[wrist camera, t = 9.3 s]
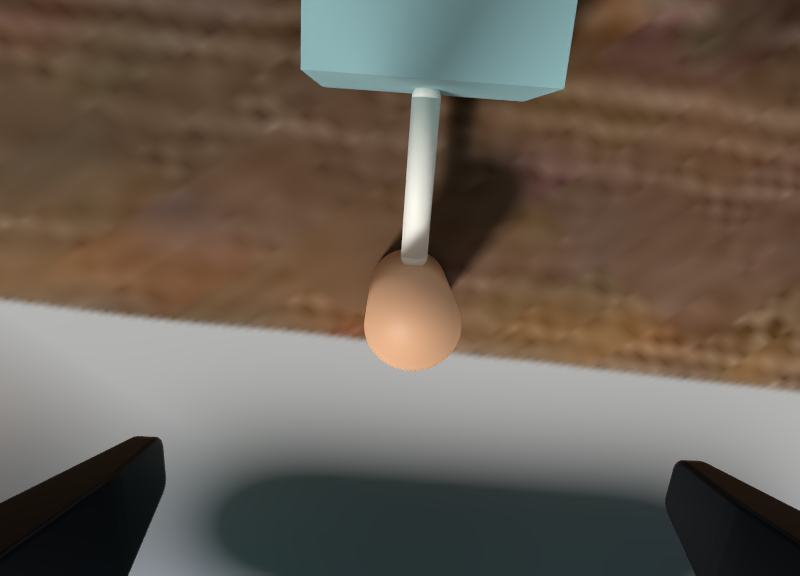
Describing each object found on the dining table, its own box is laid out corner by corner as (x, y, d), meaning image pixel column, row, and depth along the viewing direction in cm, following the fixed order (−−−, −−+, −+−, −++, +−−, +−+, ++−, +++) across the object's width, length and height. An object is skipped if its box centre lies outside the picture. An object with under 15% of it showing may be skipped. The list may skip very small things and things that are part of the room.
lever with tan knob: (533, -25, 16) (592, -94, 11) (489, 325, 20) (519, 382, 15) (328, -42, 16) (301, -120, 11) (321, 316, 19) (299, 371, 15)
